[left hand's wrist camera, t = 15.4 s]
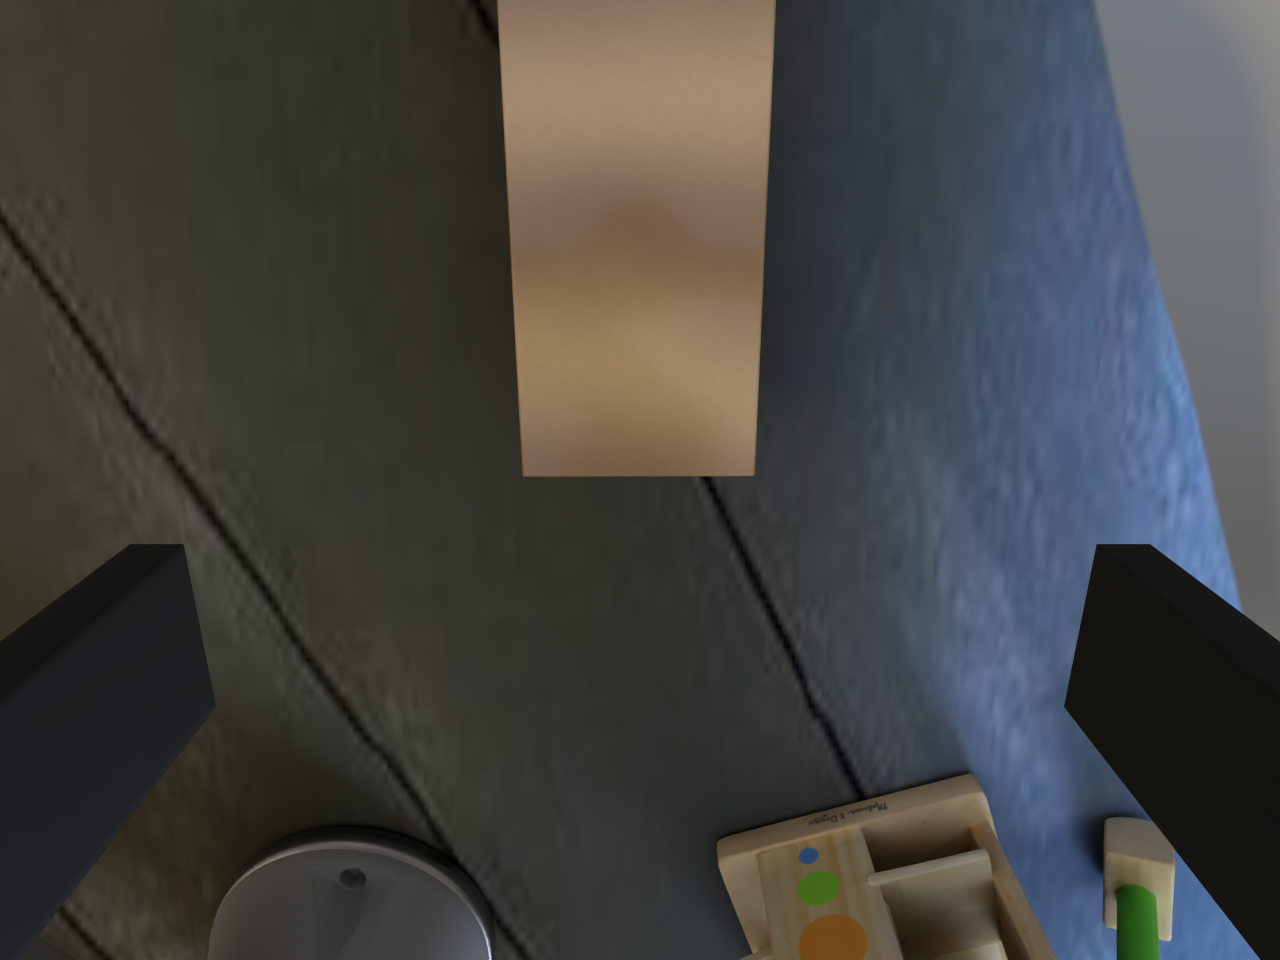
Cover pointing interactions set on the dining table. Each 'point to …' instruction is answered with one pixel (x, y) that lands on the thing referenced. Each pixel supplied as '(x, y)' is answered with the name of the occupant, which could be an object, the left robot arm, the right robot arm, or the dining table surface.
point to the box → (637, 230)
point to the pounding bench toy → (925, 883)
